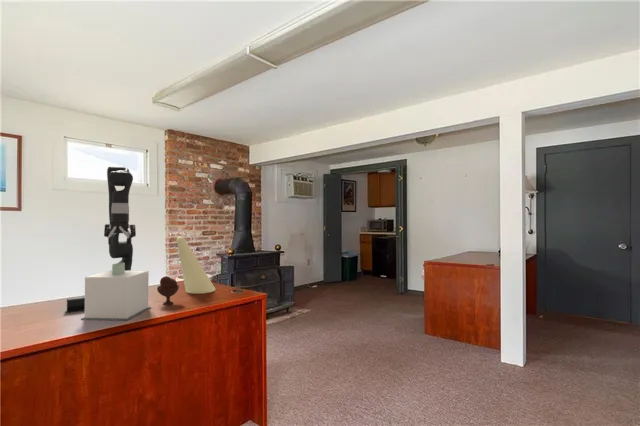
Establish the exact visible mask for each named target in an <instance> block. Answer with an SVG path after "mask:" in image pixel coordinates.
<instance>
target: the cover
mask: <svg viewBox="0 0 640 426" xmlns="http://www.w3.org/2000/svg"><path fill="white" fill-rule="evenodd" d="M111 267H112V269H111V270H108V271H103V272H99V273H96V274H91V275H88V276H85V277H84V296H85V310H84V317H85V318H122V319H127V318H129V317H131V316H133V315H134V314H136V313H138V312H140V311H142V310H144V309H146V308H148V307H149V276H150V275H149V272H150V271H149V270H131V271H125V263H118V262H117V263H116V262H115V263H113V264H112V266H111Z"/></svg>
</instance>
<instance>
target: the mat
mask: <svg viewBox="0 0 640 426" xmlns="http://www.w3.org/2000/svg"><path fill="white" fill-rule="evenodd" d="M151 308H152V306H148V308H146V309H144V310H142V311H140V312H138V313H136V314H134V315H133V316H131V317H129V318H127V319H122V318H85V316H84V317H81V318H80V321H123V322H125V321H129V320H131V319H133V318H135V317H137V316H139V315H141V314H143V313H145V312H146V311H148V310H150V309H151Z"/></svg>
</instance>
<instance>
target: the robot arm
mask: <svg viewBox="0 0 640 426" xmlns="http://www.w3.org/2000/svg"><path fill="white" fill-rule="evenodd" d="M106 177H107V178H106V179H107V188H108V189H107V190H108V218H109V223H108V224H107V223H105V224H104V231H103V233H104V234H103V236H104V237H106V238H108V239H107V244H108V252H109V256H110V258H111V259H121V260H119V262H117V263H125V271H132V265H133V256H134V255H133V254H134V253H133V252H134V247H133V243H132V240H133V239H132V238H135V237H136V232H137V231H136V225H135V224H129V222H130V206H129V199H130V198H129V197H130V196H129V195H130V190H131V187H132V184H133V181H134V176H133V174H132V173H131V172H130V169H129V168H128V167H126V166H108V167H107V170H106ZM116 187H124V188H123V189H121V190H117V188H116ZM120 234H123V235H124V236H125V237H126V240H119V239H120Z"/></svg>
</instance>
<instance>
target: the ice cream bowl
mask: <svg viewBox="0 0 640 426" xmlns="http://www.w3.org/2000/svg"><path fill="white" fill-rule="evenodd" d="M159 284H160V285H159V286H157V292H158V293H159V294H160V295H161V296H163V297H165V298H166V300H165V301H164V302H162V306H172V305H174V302H173V301H171V297H172V296H174V295H175V294H176V293H177V292H178V291H179V288H180V285H178V282H177V281H176V279H173V278H172V277H170V276H163V277H161V278H160V281H159Z"/></svg>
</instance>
